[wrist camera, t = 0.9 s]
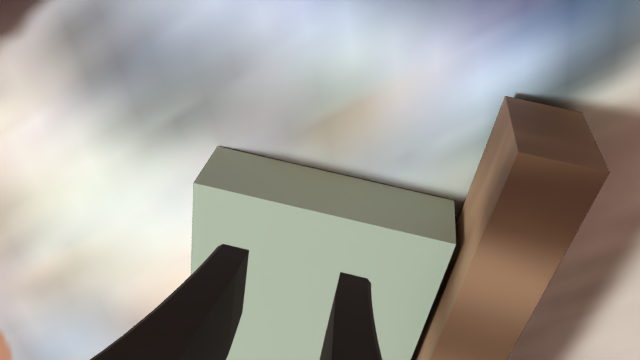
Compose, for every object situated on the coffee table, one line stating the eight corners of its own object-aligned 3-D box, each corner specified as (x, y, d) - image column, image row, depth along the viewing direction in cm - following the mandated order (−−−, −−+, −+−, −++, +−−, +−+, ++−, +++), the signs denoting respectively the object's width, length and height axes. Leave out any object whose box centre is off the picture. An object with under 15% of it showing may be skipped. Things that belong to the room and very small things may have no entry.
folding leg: (440, 406, 27) (440, 485, 23) (391, 393, 27) (384, 470, 24) (581, 111, 17) (612, 177, 14) (505, 95, 18) (519, 156, 14)
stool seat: (392, 368, 26) (388, 416, 24) (207, 322, 27) (188, 365, 25) (454, 200, 20) (456, 244, 18) (217, 146, 21) (193, 182, 19)
